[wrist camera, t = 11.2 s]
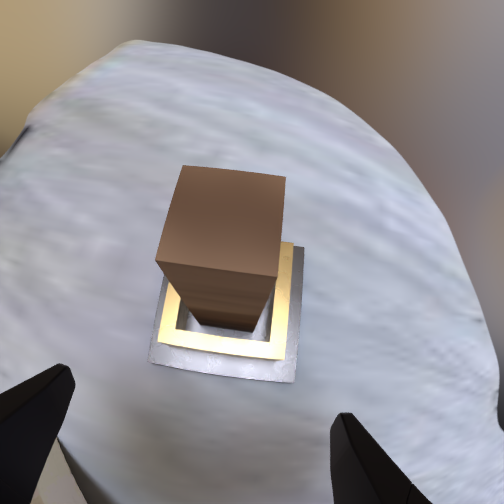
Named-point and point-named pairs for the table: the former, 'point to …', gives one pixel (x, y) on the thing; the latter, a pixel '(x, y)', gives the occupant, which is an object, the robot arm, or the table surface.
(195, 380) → the table surface
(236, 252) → the rail post
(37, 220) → the table surface
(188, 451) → the table surface
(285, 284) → the gold square frame
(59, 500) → the wall
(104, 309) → the table surface
